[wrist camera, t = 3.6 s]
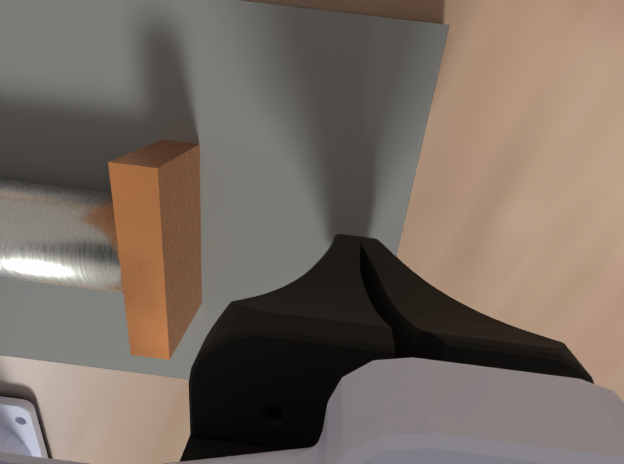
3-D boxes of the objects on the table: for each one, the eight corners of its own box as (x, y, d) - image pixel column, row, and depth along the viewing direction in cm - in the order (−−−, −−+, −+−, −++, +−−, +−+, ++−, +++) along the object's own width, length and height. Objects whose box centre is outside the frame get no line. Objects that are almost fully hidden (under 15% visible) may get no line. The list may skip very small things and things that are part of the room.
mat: (362, 390, 16) (363, 401, 16) (-222, 315, 16) (-241, 324, 16) (443, 26, 10) (449, 24, 10) (-454, -80, 11) (-496, -88, 10)
